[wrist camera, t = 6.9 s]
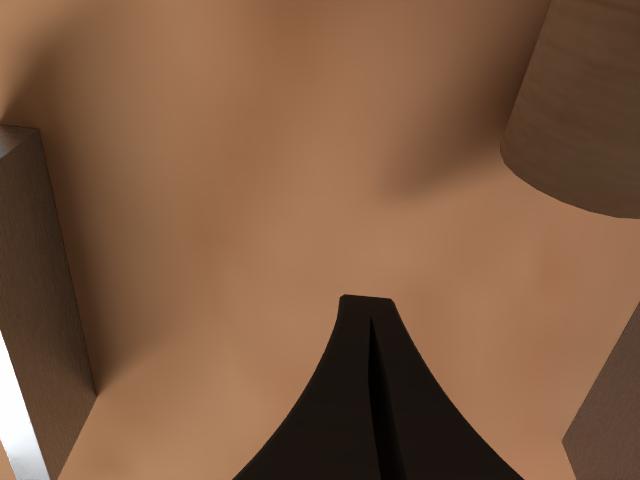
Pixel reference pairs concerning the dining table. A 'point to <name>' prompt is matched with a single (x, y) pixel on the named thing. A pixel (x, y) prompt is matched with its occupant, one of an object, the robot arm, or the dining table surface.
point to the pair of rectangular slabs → (73, 365)
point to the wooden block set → (581, 108)
